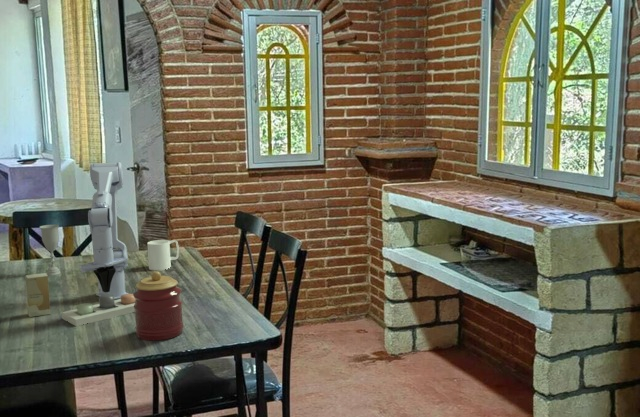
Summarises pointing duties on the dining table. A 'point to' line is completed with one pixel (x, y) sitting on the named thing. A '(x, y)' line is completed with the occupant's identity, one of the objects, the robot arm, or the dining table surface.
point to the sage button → (84, 309)
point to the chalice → (51, 244)
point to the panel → (98, 313)
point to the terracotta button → (127, 299)
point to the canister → (158, 308)
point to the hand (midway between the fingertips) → (106, 291)
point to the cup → (160, 254)
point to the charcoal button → (106, 301)
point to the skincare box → (37, 294)
